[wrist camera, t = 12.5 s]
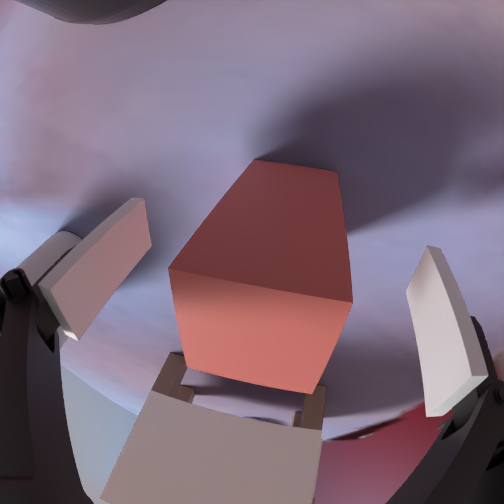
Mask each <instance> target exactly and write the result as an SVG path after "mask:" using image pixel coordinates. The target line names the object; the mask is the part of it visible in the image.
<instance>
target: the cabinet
mask: <svg viewBox="0 0 504 504" xmlns="http://www.w3.org/2000/svg"><path fill="white" fill-rule="evenodd" d="M186 370H187V366H186V361H185V357H184V356H181V355H177V354H174V353H171V352H170V354H169V356H168V358H167V360H166V362H165V364H164V366H163V368H162V370H161V372H160V374H159V375H158V377H157V379H156V381H155V383H154V385H153V387H152V389H151V391H150V393H149V395H148V397H147V400H146V402H145V404H144V406H143V408H142V410H141V412H140V414H139V416H138V418H137V420H136V422H135V424H134V426H133V428H132V430H131V432H130V435H129V437H128V439H127V441H126V443H125V445H124V447H123V449H122V451H121V453H120V456H119V458H118V460H117V462H116V464H115V466H114V468H113V470H112V473H111V475H110V477H109V479H108V481H107V484H106V486H105V488H104V490H103V493H102V495H101V497H100V498H101V499H102V500H104V501H106V502H108V503H110V504H314V503H315V499H314V497H313V495H314V489H315V484H316V478H317V472H318V466H319V459H320V452H321V445H322V439H321V433H322V424H323V415H324V406H325V395H326V386H321V385H316V387H315V389H314V391H313V393H312V394H308V393H305V396H304V402H303V409H302V413H301V412H295V414H294V416H293V420H292V425H291V426H285V425H279V424H274V423H268V422H263V421H258V420H253V419H248V418H244V417H239V416H235V415H231V414H227V413H223V412H219V411H215V410H211V409H208V408H204V407H201V406H197V405H194V404H191V403H192V401H193V398H194V396H195V394H194V390H193V389H192V388H189V387H186V386H182V385H180V383H181V381H182V379H183V376H184V374H185V372H186Z"/></svg>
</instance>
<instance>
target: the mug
mask: <svg viewBox="0 0 504 504" xmlns="http://www.w3.org/2000/svg"><path fill="white" fill-rule="evenodd" d="M82 240H83V239H81V238H80V237H79V236H77V235H75V234H73V233H71V232H68V231H60V232H57V233H55V234H54V235H52V236H51V237H50V238H49V239H48V240H47V241H45V242H44V243H43V244H42V245H41V246H40V247H39V248H38V249H36V250H35V251H34V252H33V253H32V254H31V255H30V256H29V257H28V258H26V259H25V260H24V261H23V262H22V263H21V264H20V265H19V266H18V267H17V268H21V269H23V270H24V271H25V273H26V275H27V278H28V280H29V282H30V284H31V286H33V285H34V283H35V282H36V281H37V280H38V279H39V278H40V277H41V276H42V275H43V274H44V273H45V272H46V271H47V270H48V269H49V268H50V267H51V266H52V265H54V263H55V262H56V261H57V260H58V259H60V257H61V256H62V255H63V254H64V253H65V252H66V251H67V250H69V249H70V248H72V247H74V246H76V245H77V244H79V243H80V242H81V241H82ZM0 288H1V287H0ZM1 290H2V289H1ZM2 292H3V291H2ZM3 294H4V292H3ZM57 332H58V334H59V348H61V347H62V346H63V344H64V343H65V342H66V340H67V339H68V338H69V336H67V335H66V334H65V332H64V331H63V329H62V328H61V326H59V327H58V329H57Z"/></svg>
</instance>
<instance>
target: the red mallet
mask: <svg viewBox="0 0 504 504" xmlns="http://www.w3.org/2000/svg"><path fill="white" fill-rule="evenodd" d="M168 270H169V277H170V283H171V289H172V295H173V301H174V307H175V312H176V318H177V323H178V328H179V333H180V338H181V343H182V347H183V352H184V357H185V361H186V366H187V367H189V368H192V369H196V370H200V371H203V372H207V373H211V374H214V375H218V376H222V377H226V378H230V379H235V380H239V381H243V382H248V383H252V384H257V385H262V386H267V387H272V388H278V389H283V390H289V391H295V392H301V393H308V394H312V393H313V391H314V389H315V387H316V385H317V383H318V381H319V379H320V377H321V375H322V373H323V371H324V369H325V367H326V365H327V363H328V360H329V358H330V356H331V354H332V352H333V350H334V347H335V345H336V343H337V340H338V338H339V336H340V334H341V331H342V329H343V326H344V324H345V322H346V319H347V317H348V314H349V312H350V309H351V307H352V304H353V296H352V282H351V271H350V260H349V251H348V242H347V234H346V226H345V218H344V211H343V204H342V198H341V191H340V185H339V179H338V174H337V172H335V171H329V170H323V169H318V168H312V167H305V166H299V165H292V164H285V163H278V162H271V161H263V160H253V161H252V163H251V164H250V165H249V166H248V167H247V168H246V170H245V171H244V172H243V173H242V174H241V176H240V177H239V178H238V179H237V180H236V182H235V183H234V184H233V185H232V186H231V188H230V189H229V190H228V191H227V193H226V194H225V195H224V196H223V198H222V199H221V200H220V201H219V203H218V204H217V205H216V206H215V208H214V209H213V210H212V211H211V213H210V214H209V215H208V216H207V218H206V219H205V220H204V221H203V223H202V224H201V225H200V227H199V228H198V229H197V230H196V232H195V233H194V234H193V236H192V237H191V238H190V240H189V241H188V242H187V244H186V245H185V246H184V247H183V249H182V250H181V251H180V253H179V254H178V255H177V257H176V258H175V260H174V261H173V262H172V264H171V265H170V266H169V268H168Z"/></svg>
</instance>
